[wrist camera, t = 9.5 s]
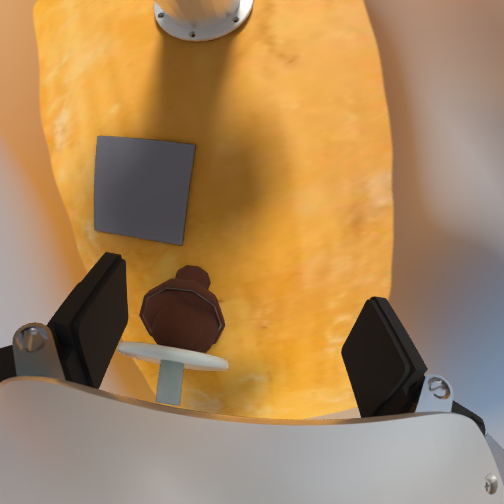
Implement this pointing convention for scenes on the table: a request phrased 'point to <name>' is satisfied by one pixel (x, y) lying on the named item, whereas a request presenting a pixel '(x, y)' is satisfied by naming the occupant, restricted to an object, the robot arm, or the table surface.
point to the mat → (142, 187)
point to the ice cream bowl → (183, 312)
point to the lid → (172, 366)
